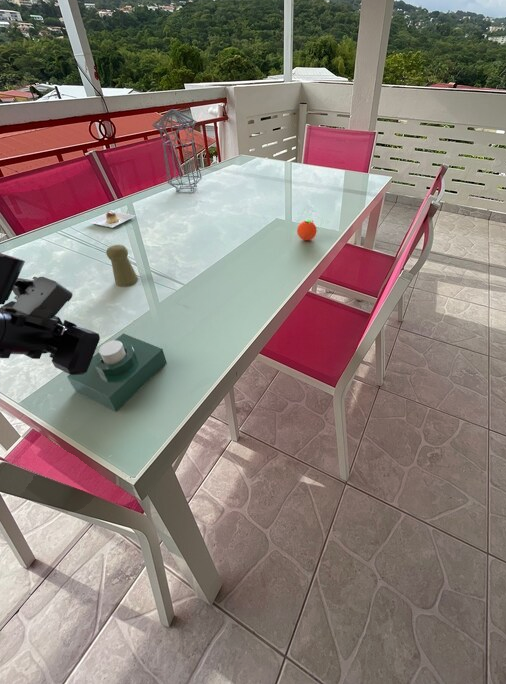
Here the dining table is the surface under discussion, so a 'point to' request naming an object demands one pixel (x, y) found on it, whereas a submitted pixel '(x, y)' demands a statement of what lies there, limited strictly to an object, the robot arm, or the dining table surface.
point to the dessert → (112, 219)
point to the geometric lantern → (178, 115)
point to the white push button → (112, 352)
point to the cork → (121, 266)
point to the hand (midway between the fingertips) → (92, 339)
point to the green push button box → (120, 373)
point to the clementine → (306, 230)
